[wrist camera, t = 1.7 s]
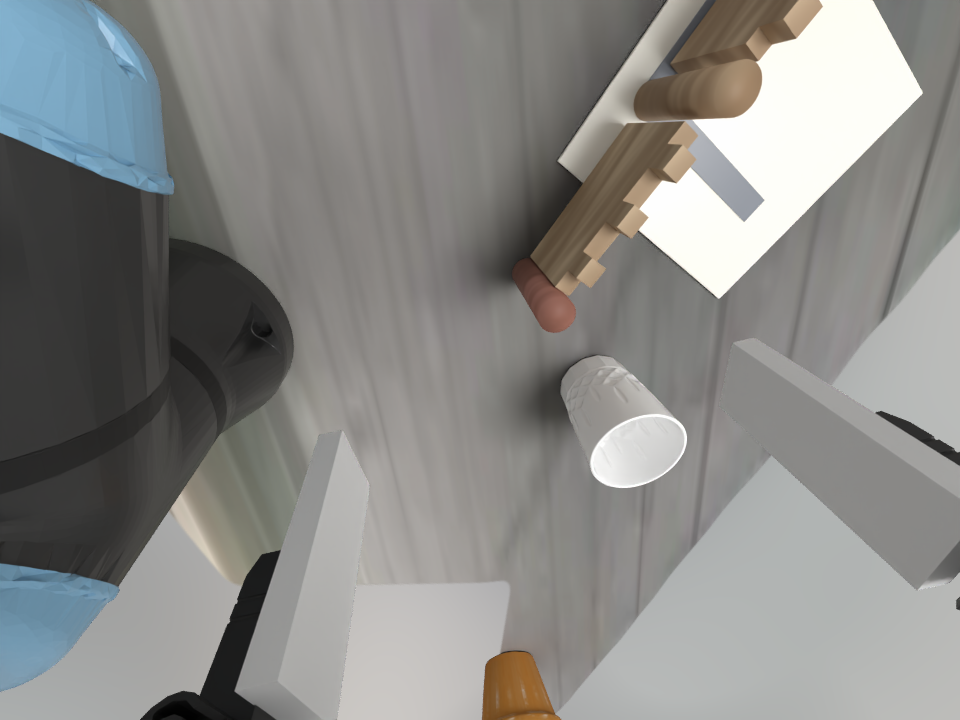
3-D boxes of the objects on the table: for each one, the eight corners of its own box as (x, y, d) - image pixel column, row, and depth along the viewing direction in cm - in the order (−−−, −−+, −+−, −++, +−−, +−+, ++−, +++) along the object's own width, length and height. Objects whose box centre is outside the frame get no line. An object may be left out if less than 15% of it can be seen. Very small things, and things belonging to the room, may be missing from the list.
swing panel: (506, 277, 31) (530, 321, 24) (620, 117, 26) (695, 112, 19) (529, 291, 32) (558, 338, 25) (643, 140, 27) (722, 143, 20)
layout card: (556, 161, 28) (558, 161, 28) (777, -162, 21) (783, -167, 21) (716, 297, 35) (719, 299, 35) (918, 93, 28) (924, 92, 28)
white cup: (581, 338, 36) (629, 402, 27) (645, 364, 38) (707, 430, 30) (540, 401, 39) (571, 476, 31) (601, 421, 42) (646, 496, 33)
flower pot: (529, 679, 75) (547, 775, 63) (460, 679, 71) (466, 781, 60) (560, 643, 68) (586, 743, 57) (486, 641, 64) (498, 747, 53)
